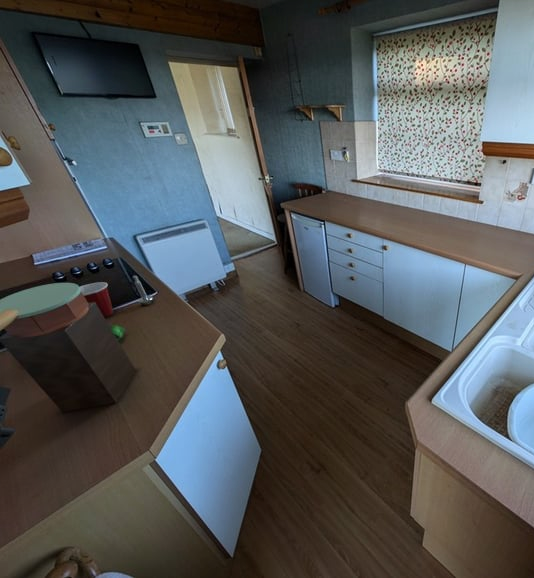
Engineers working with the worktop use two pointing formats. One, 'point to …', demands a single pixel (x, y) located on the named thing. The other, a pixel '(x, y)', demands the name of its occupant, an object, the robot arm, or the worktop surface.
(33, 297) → the green flat oval disc
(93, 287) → the plastic cup
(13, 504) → the worktop surface
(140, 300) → the screw
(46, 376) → the plinth
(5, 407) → the robot arm
